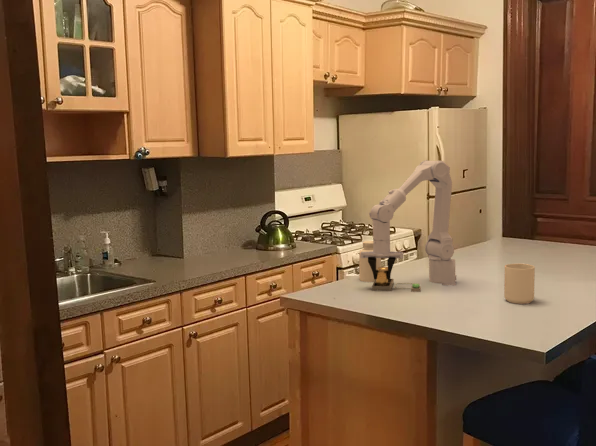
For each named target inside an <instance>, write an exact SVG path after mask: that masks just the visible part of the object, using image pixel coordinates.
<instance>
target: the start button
mask: <svg viewBox="0 0 596 446" xmlns="http://www.w3.org/2000/svg"><path fill="white" fill-rule="evenodd" d="M411 287H414V288H418V287H421V285H420V283H419V284H411Z"/></svg>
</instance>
